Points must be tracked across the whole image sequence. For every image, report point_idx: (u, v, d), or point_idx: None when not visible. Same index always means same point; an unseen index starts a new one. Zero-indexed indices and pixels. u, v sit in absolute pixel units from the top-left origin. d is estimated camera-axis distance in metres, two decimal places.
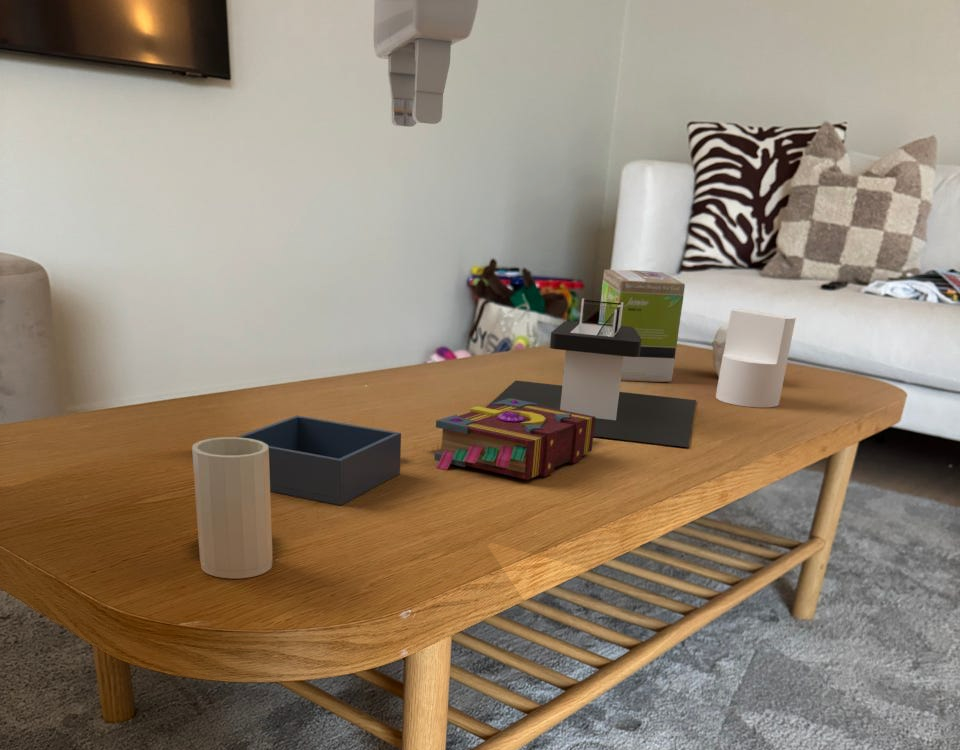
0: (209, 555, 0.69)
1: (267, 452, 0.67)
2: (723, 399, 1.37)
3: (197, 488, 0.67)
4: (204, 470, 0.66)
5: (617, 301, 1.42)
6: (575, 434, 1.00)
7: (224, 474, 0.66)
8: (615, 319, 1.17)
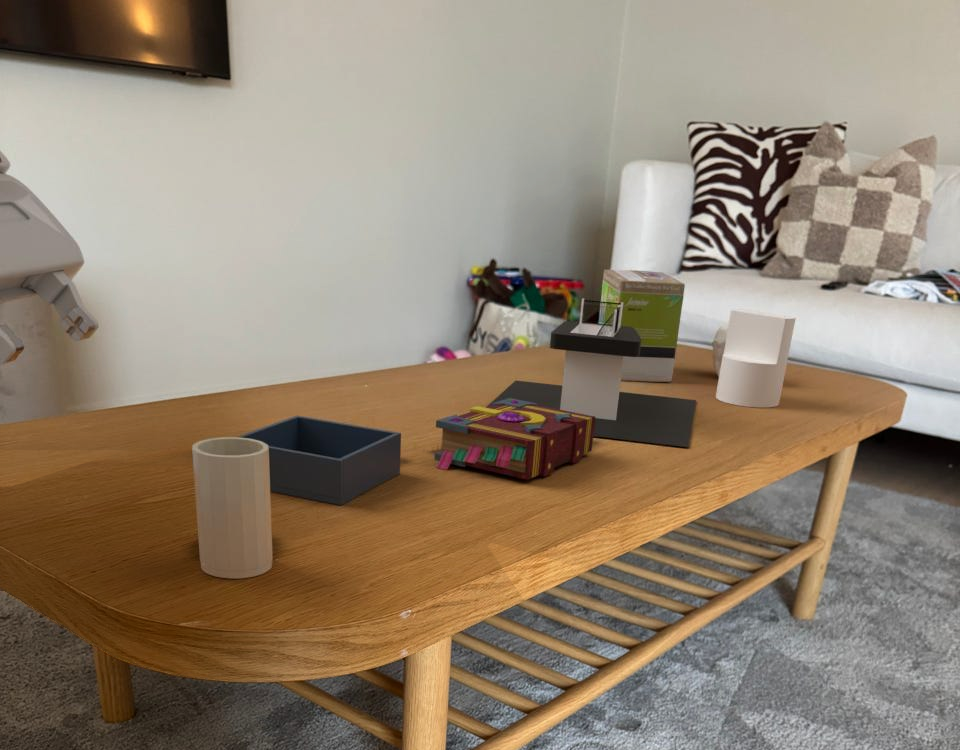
0: (209, 555, 0.69)
1: (267, 452, 0.67)
2: (723, 399, 1.37)
3: (197, 488, 0.67)
4: (204, 470, 0.66)
5: (617, 301, 1.42)
6: (575, 434, 1.00)
7: (224, 474, 0.66)
8: (615, 319, 1.17)
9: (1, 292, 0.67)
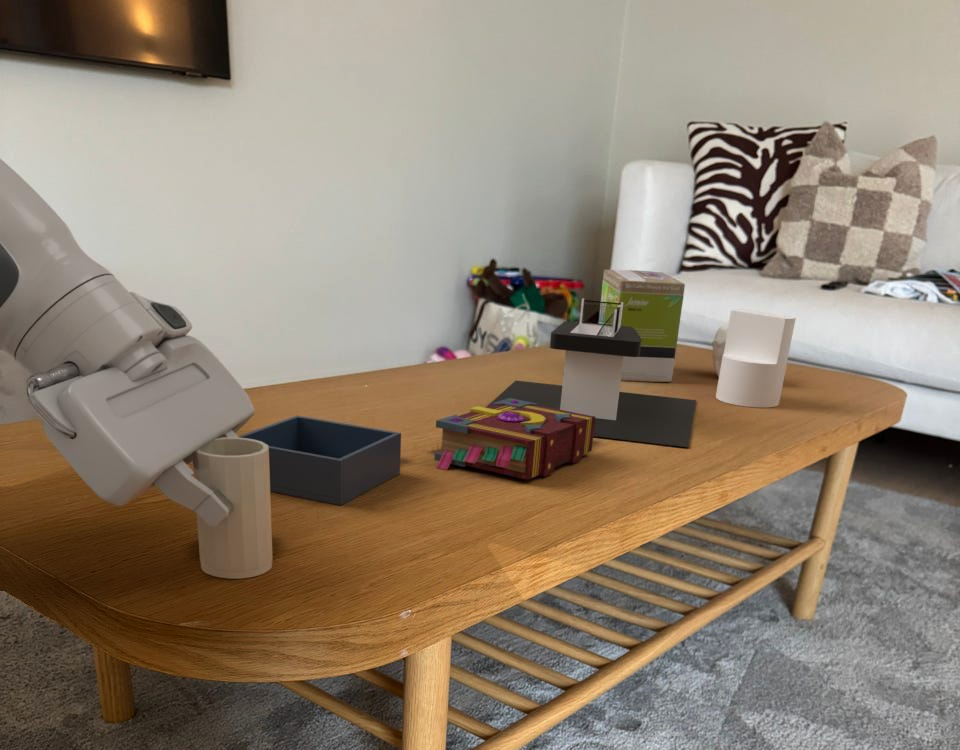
0: (209, 555, 0.69)
1: (267, 452, 0.67)
2: (723, 399, 1.37)
3: None
4: (204, 470, 0.66)
5: (617, 301, 1.42)
6: (575, 434, 1.00)
7: (224, 474, 0.66)
8: (615, 319, 1.17)
9: None
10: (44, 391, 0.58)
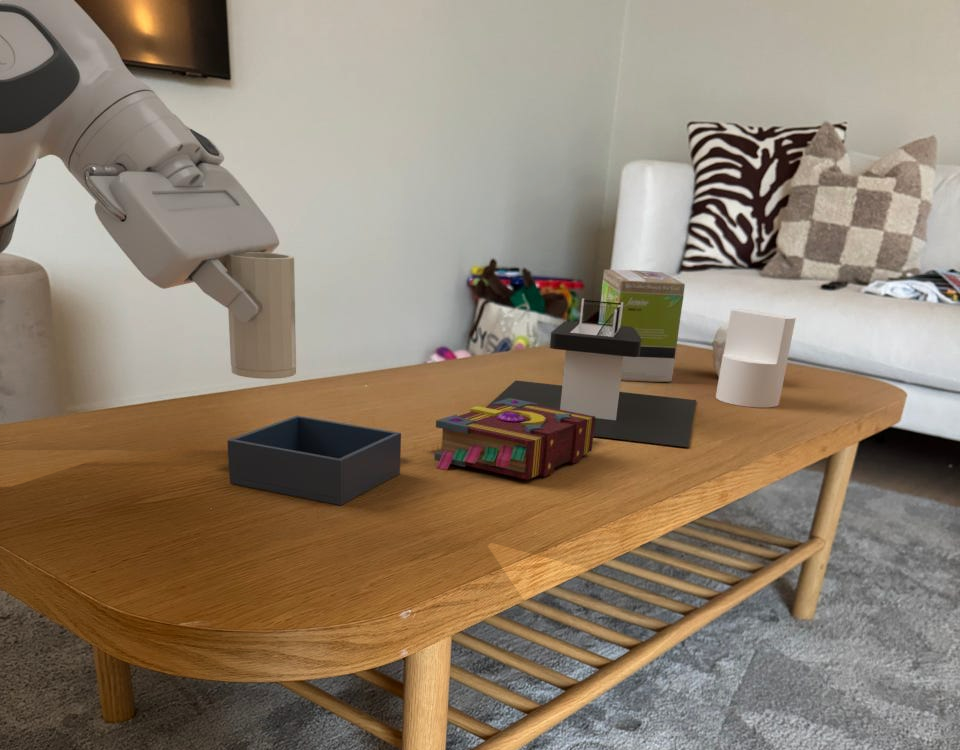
0: (239, 356, 0.76)
1: (293, 260, 0.75)
2: (723, 399, 1.37)
3: None
4: (236, 272, 0.73)
5: (617, 301, 1.42)
6: (575, 434, 1.00)
7: (255, 275, 0.73)
8: (615, 319, 1.17)
9: None
10: (98, 177, 0.65)
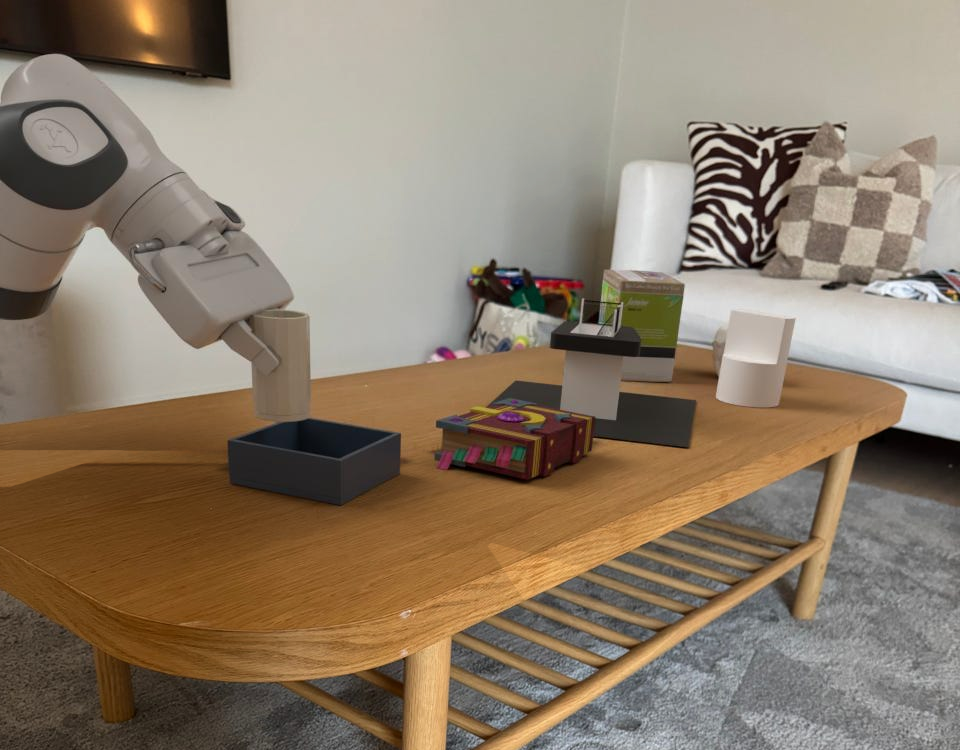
0: (261, 402, 0.86)
1: (308, 318, 0.85)
2: (723, 399, 1.37)
3: None
4: (259, 330, 0.83)
5: (617, 301, 1.42)
6: (575, 434, 1.00)
7: (275, 333, 0.83)
8: (615, 319, 1.17)
9: None
10: (142, 255, 0.75)
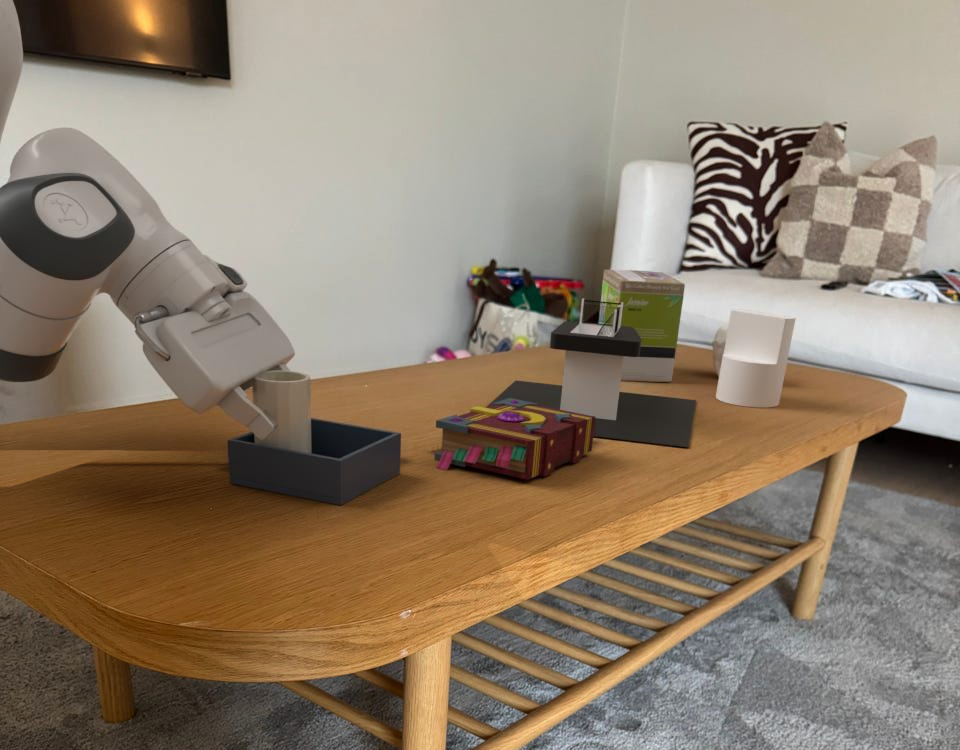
0: None
1: (309, 380, 0.87)
2: (723, 399, 1.37)
3: None
4: (261, 393, 0.86)
5: (617, 301, 1.42)
6: (575, 434, 1.00)
7: (277, 395, 0.85)
8: (615, 319, 1.17)
9: (247, 381, 0.90)
10: (146, 324, 0.77)
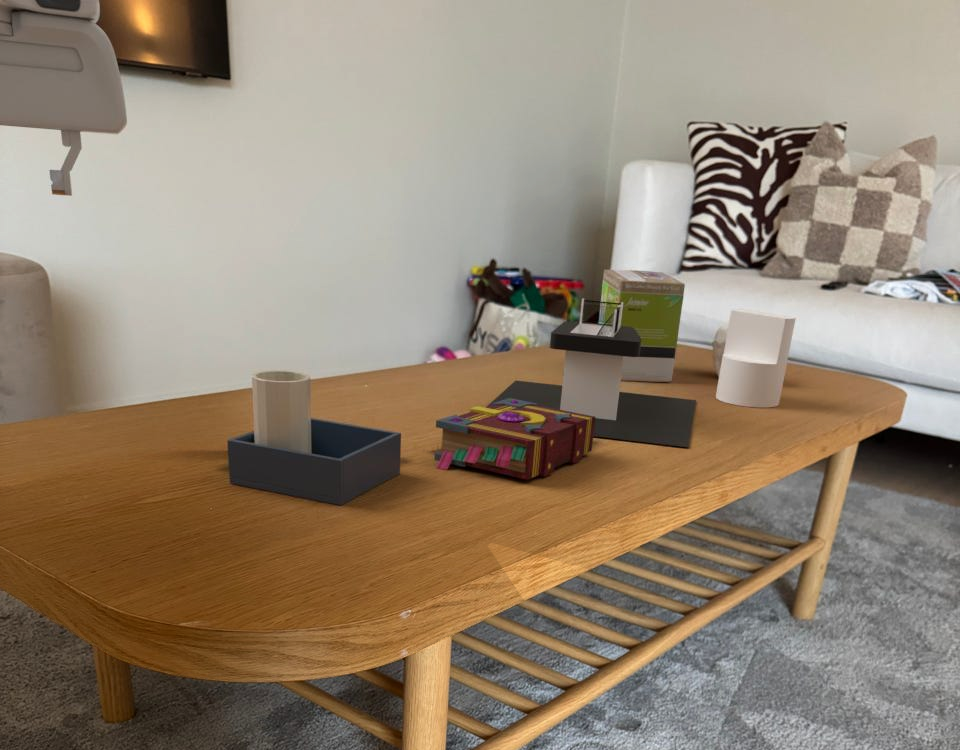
0: None
1: (309, 380, 0.87)
2: (723, 399, 1.37)
3: (255, 407, 0.87)
4: (261, 393, 0.86)
5: (617, 301, 1.42)
6: (575, 434, 1.00)
7: (277, 395, 0.85)
8: (615, 319, 1.17)
9: None
10: None
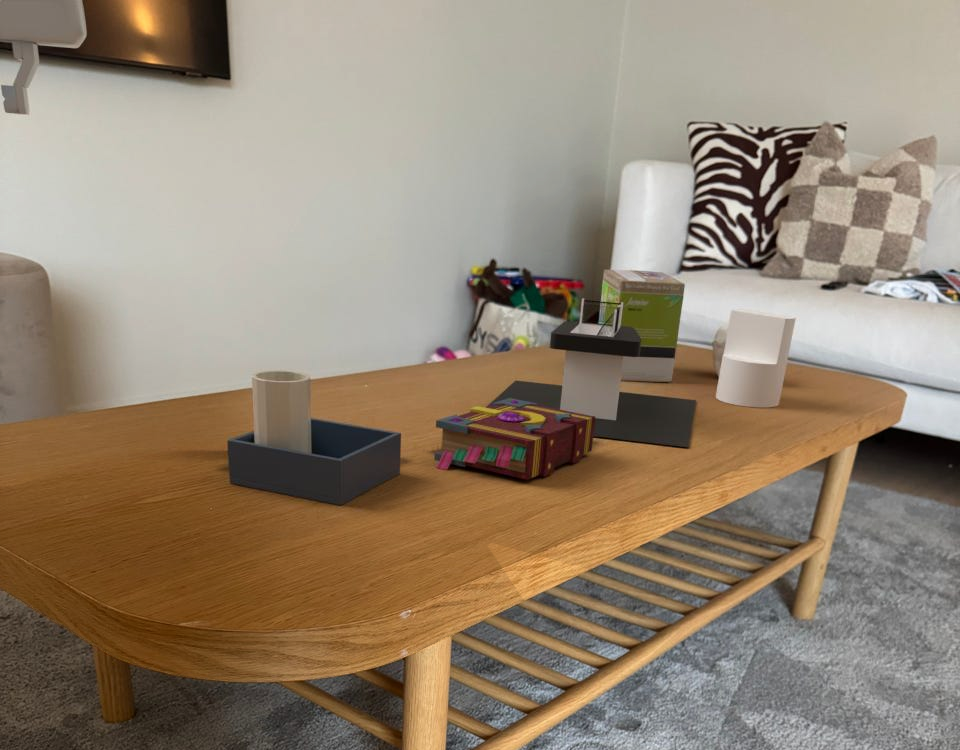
0: None
1: (309, 380, 0.87)
2: (723, 399, 1.37)
3: (255, 407, 0.87)
4: (261, 393, 0.86)
5: (617, 301, 1.42)
6: (575, 434, 1.00)
7: (277, 395, 0.85)
8: (615, 319, 1.17)
9: None
10: None
